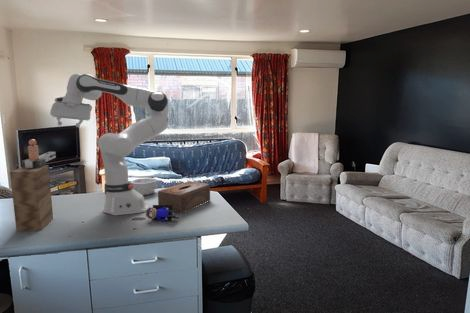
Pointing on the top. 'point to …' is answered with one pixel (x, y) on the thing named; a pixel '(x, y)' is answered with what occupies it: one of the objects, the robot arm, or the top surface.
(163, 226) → the top surface
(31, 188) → the stand
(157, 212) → the character figurine
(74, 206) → the top surface
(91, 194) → the top surface
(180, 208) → the tissue box cover
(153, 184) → the paper bowls
